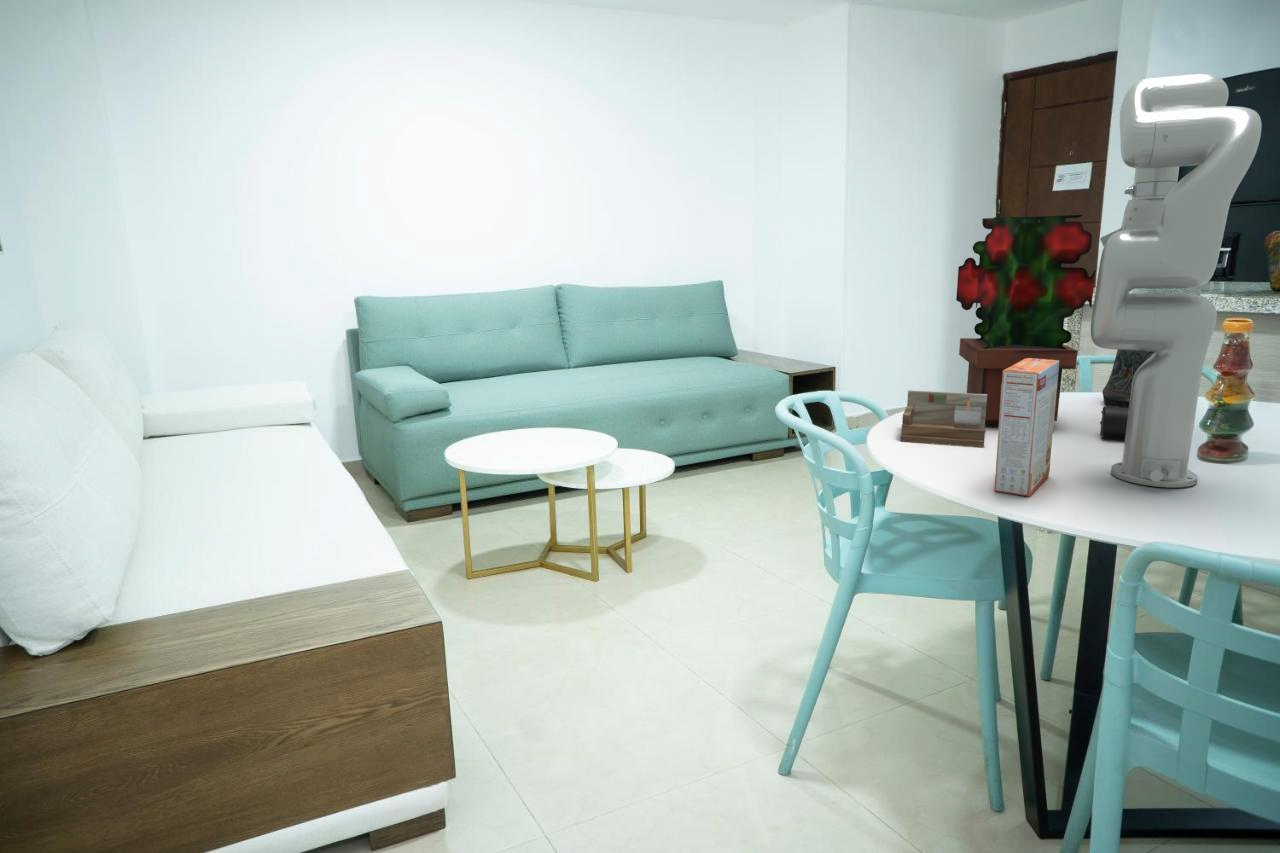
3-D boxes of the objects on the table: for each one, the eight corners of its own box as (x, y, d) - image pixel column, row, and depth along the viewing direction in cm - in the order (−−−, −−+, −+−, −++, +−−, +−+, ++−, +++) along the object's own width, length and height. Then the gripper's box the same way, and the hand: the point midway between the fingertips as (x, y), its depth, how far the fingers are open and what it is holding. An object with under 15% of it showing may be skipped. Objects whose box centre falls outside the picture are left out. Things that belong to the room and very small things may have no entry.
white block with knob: (979, 435, 161) (981, 404, 160) (953, 433, 163) (955, 403, 162) (979, 430, 166) (981, 400, 164) (954, 428, 168) (956, 398, 166)
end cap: (1101, 441, 160) (1105, 409, 158) (1097, 433, 166) (1100, 402, 165) (1159, 445, 156) (1163, 412, 154) (1152, 437, 162) (1156, 405, 161)
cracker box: (1013, 471, 142) (1024, 356, 137) (1050, 477, 138) (1062, 359, 133) (990, 491, 131) (1001, 368, 126) (1029, 498, 127) (1041, 371, 123)
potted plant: (1077, 434, 166) (1101, 214, 155) (966, 431, 170) (982, 217, 160) (1046, 411, 187) (1066, 216, 176) (948, 409, 191) (961, 219, 181)
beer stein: (1160, 399, 196) (1174, 298, 190) (1203, 417, 178) (1219, 306, 172) (1090, 399, 199) (1101, 299, 193) (1124, 416, 180) (1138, 307, 174)
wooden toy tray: (983, 447, 157) (987, 406, 155) (900, 441, 164) (902, 402, 162) (984, 431, 170) (987, 393, 168) (906, 426, 176) (908, 389, 174)
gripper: (1108, 192, 160) (1098, 278, 163) (1209, 189, 153) (1197, 278, 157) (1102, 195, 166) (1093, 277, 170) (1200, 191, 160) (1188, 277, 163)
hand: (1143, 277), depth 163 cm, fingers open, 9 cm apart
